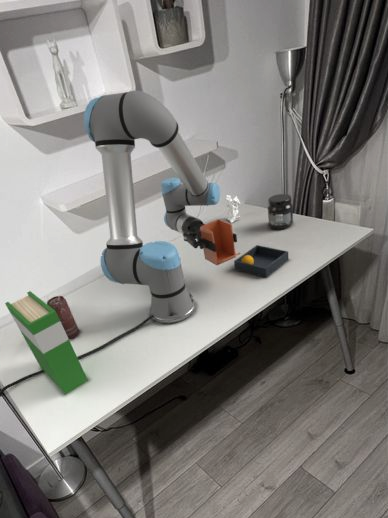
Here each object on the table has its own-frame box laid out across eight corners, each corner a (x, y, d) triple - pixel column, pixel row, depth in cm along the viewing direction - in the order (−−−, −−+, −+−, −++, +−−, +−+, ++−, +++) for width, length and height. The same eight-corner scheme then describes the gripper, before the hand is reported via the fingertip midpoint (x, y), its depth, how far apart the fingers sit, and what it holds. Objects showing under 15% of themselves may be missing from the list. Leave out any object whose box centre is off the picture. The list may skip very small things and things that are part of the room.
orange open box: (205, 258, 144) (199, 226, 136) (223, 250, 146) (218, 218, 139) (223, 269, 135) (218, 235, 128) (242, 260, 138) (238, 226, 130)
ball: (245, 263, 145) (255, 268, 148) (248, 251, 146) (257, 257, 149) (237, 266, 149) (246, 271, 152) (240, 254, 150) (249, 259, 152)
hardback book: (41, 368, 124) (4, 303, 109) (62, 356, 127) (30, 291, 112) (65, 394, 112) (28, 325, 98) (88, 380, 115) (55, 311, 101)
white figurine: (233, 224, 185) (229, 198, 178) (222, 222, 190) (218, 196, 182) (244, 217, 190) (242, 191, 182) (233, 215, 194) (230, 190, 186)
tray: (266, 277, 143) (265, 268, 140) (235, 269, 151) (234, 261, 149) (288, 260, 150) (288, 251, 148) (257, 253, 158) (256, 245, 156)
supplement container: (284, 218, 180) (283, 191, 173) (298, 225, 172) (297, 197, 165) (264, 225, 178) (262, 198, 171) (277, 232, 170) (275, 204, 163)
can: (82, 328, 138) (67, 293, 129) (76, 340, 133) (60, 304, 124) (66, 330, 139) (50, 295, 130) (59, 341, 134) (42, 306, 126)
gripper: (214, 226, 156) (251, 242, 140) (168, 246, 150) (201, 264, 133) (212, 207, 152) (249, 221, 135) (164, 227, 145) (197, 243, 129)
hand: (225, 243), depth 134 cm, fingers closed on orange open box, 8 cm apart
